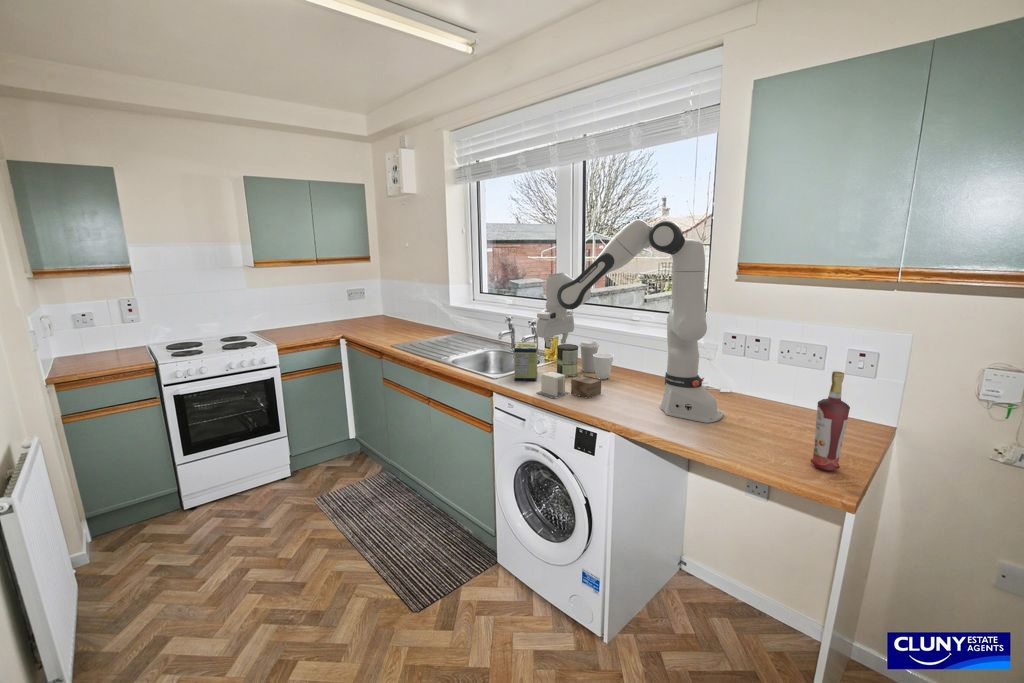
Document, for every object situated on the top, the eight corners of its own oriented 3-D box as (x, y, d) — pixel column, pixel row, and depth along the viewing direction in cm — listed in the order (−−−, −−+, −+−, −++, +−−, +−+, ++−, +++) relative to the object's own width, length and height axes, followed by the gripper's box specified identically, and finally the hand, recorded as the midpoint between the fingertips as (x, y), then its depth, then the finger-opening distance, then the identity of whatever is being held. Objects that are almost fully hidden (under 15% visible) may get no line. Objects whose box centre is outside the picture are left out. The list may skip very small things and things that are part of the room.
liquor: (845, 475, 126) (861, 377, 120) (816, 473, 127) (830, 375, 121) (832, 463, 133) (846, 369, 127) (804, 461, 134) (817, 368, 128)
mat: (569, 393, 196) (569, 392, 196) (554, 398, 189) (554, 398, 189) (551, 388, 203) (551, 387, 203) (536, 393, 196) (536, 392, 196)
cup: (615, 376, 221) (616, 354, 219) (610, 381, 213) (611, 358, 210) (594, 373, 225) (595, 352, 223) (589, 379, 217) (590, 356, 214)
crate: (601, 393, 196) (601, 379, 194) (588, 398, 189) (588, 383, 188) (583, 388, 202) (584, 374, 201) (570, 393, 196) (571, 379, 194)
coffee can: (552, 374, 224) (553, 346, 221) (563, 370, 233) (563, 343, 230) (571, 378, 218) (572, 349, 216) (581, 373, 227) (582, 345, 224)
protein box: (537, 372, 229) (537, 342, 225) (536, 381, 213) (536, 349, 210) (516, 372, 230) (516, 341, 226) (514, 381, 214) (513, 348, 211)
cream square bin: (550, 389, 201) (550, 371, 199) (564, 393, 195) (565, 375, 193) (541, 392, 197) (541, 374, 195) (555, 396, 191) (555, 377, 189)
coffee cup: (586, 374, 224) (587, 344, 221) (575, 370, 233) (575, 341, 230) (602, 371, 229) (603, 342, 226) (589, 367, 237) (590, 339, 234)
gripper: (566, 309, 198) (566, 340, 201) (534, 314, 184) (534, 347, 187) (578, 310, 194) (577, 342, 197) (545, 315, 180) (545, 350, 183)
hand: (556, 345), depth 192 cm, fingers open, 8 cm apart
